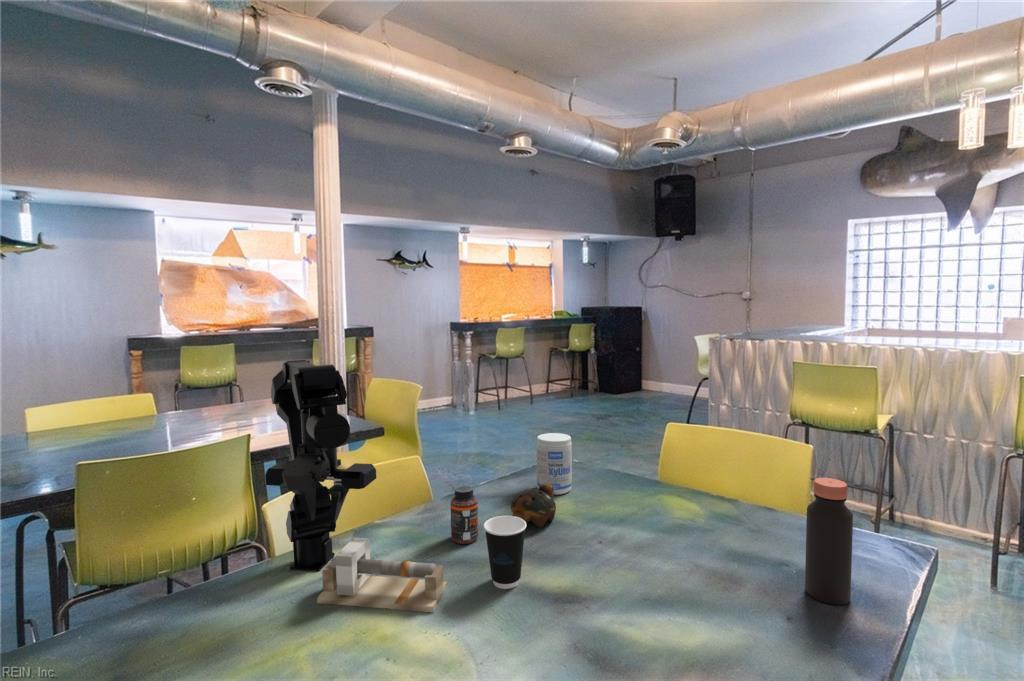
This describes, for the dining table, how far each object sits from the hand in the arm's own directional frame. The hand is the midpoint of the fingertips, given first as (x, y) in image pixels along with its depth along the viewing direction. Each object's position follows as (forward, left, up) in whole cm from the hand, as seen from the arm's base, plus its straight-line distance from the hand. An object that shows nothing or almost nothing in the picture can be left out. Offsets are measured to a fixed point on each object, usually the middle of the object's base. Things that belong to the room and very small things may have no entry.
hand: (323, 520), depth 94 cm
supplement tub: (+37, +55, -13) cm, 68 cm away
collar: (+6, 0, -12) cm, 13 cm away
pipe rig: (+11, 0, -13) cm, 17 cm away
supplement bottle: (+20, +23, -13) cm, 33 cm away
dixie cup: (+32, +7, -13) cm, 35 cm away
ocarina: (+34, +33, -13) cm, 49 cm away
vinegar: (+88, +10, -13) cm, 90 cm away
